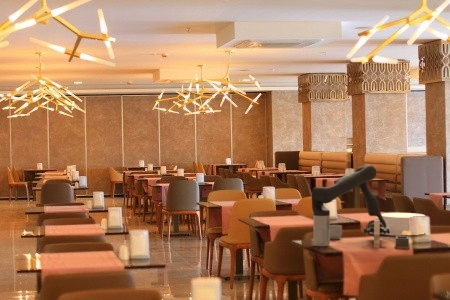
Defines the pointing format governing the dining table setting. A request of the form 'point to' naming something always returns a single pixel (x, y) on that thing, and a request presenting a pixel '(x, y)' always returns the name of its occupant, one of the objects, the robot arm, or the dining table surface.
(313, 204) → the robot arm
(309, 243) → the dining table surface
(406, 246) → the dark grey block
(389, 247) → the dining table surface
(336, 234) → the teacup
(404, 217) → the plate stack
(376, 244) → the slat
